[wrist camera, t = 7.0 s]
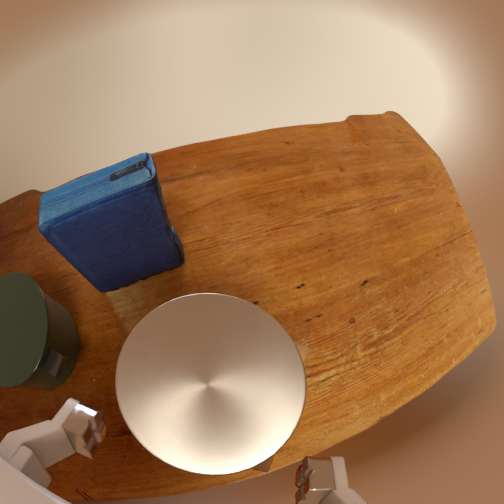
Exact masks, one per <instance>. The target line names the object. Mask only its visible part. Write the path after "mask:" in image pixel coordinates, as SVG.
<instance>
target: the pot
mask: <svg viewBox="0 0 504 504" xmlns="http://www.w3.org/2000/svg"><path fill="white" fill-rule="evenodd" d="M78 347H79V341H78V333H77V328H76V325H75V322H74V320H73V318H72V316H71V314H70V313H69V312H68V310H67V309H66V308H65V307H64V306H63V305H61V304H60V303H59V302H57V301H56V300H54V299H53V298H52V297H50V296H49V295H47V294H46V293H45V292H43V290H42V289H41V287H40V286H39V285H38V283H37V282H36V281H35V280H33V279H32V278H31V277H30V276H28V275H26V274H23V273H18V272H14V273H8V274H6V275H3V276H2V277H0V386H4V387H8V388H16V387H20V386H21V387H26V388H31V389H37V390H44V391H45V390H52V389H55V388H57V387H59V386H60V385H62V384H63V383H64V382H65V381H66V380H67V379H68V378H69V376H70V375H71V373H72V371H73V369H74V367H75V364H76V361H77V356H78Z"/></svg>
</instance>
